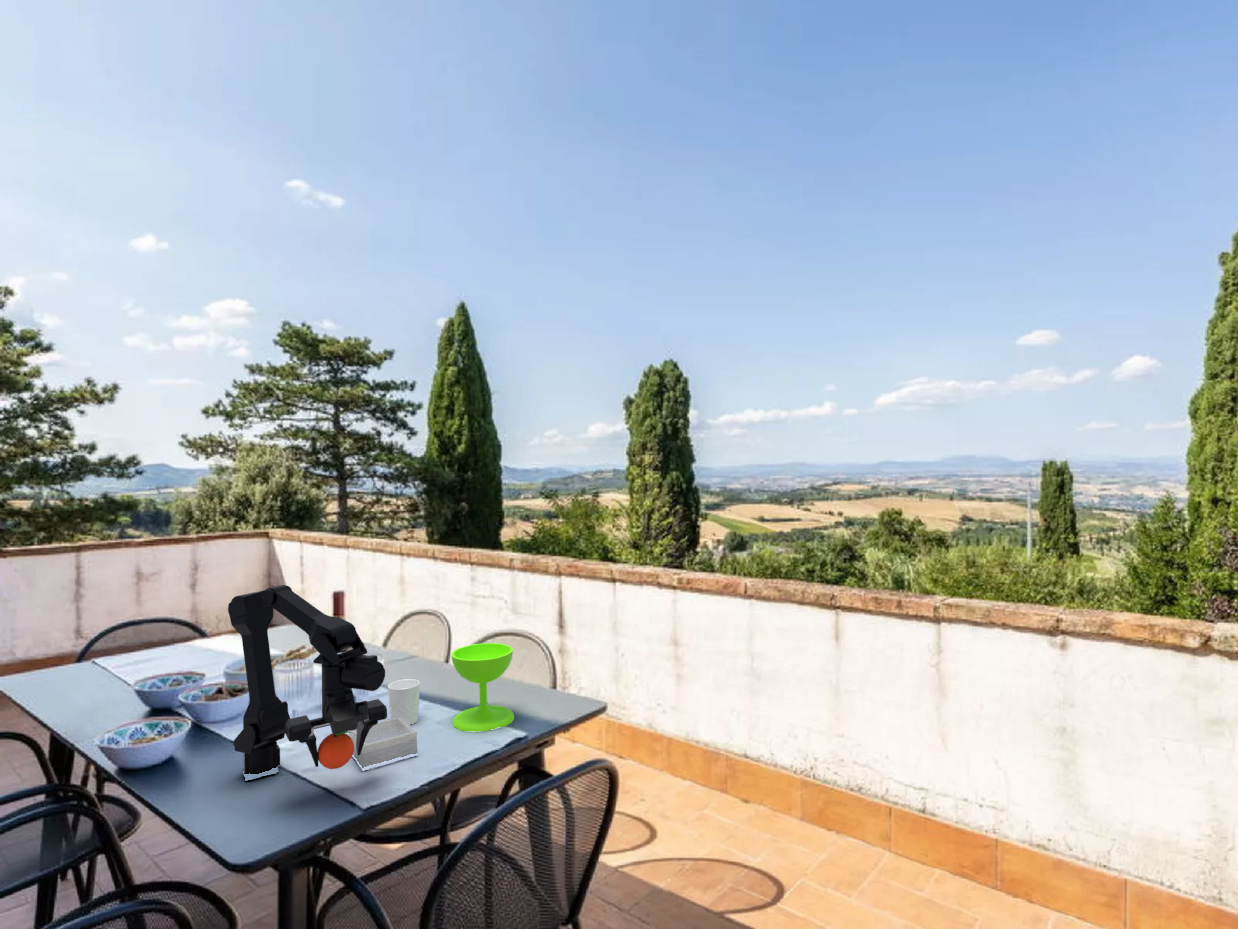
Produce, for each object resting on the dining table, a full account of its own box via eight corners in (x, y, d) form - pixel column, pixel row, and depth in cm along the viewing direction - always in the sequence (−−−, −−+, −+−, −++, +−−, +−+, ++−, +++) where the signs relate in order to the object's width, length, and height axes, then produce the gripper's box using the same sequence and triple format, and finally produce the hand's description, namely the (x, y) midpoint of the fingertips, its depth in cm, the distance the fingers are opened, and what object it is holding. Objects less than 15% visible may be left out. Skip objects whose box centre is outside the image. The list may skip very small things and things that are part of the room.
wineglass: (439, 725, 161) (438, 656, 161) (480, 704, 175) (479, 640, 175) (487, 737, 153) (486, 663, 154) (526, 713, 167) (525, 647, 168)
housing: (362, 771, 136) (362, 746, 137) (349, 752, 146) (348, 729, 146) (417, 756, 144) (416, 732, 144) (400, 738, 153) (400, 716, 153)
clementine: (349, 754, 134) (348, 721, 134) (365, 763, 130) (364, 729, 130) (311, 768, 128) (310, 734, 128) (327, 779, 124) (326, 743, 124)
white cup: (426, 717, 166) (425, 680, 167) (408, 729, 159) (408, 690, 159) (400, 715, 169) (400, 678, 169) (382, 726, 161) (381, 688, 161)
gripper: (293, 707, 117) (294, 790, 117) (394, 685, 128) (395, 761, 128) (284, 691, 126) (285, 768, 126) (379, 672, 137) (380, 743, 137)
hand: (337, 760), depth 129 cm, fingers closed on clementine, 8 cm apart
